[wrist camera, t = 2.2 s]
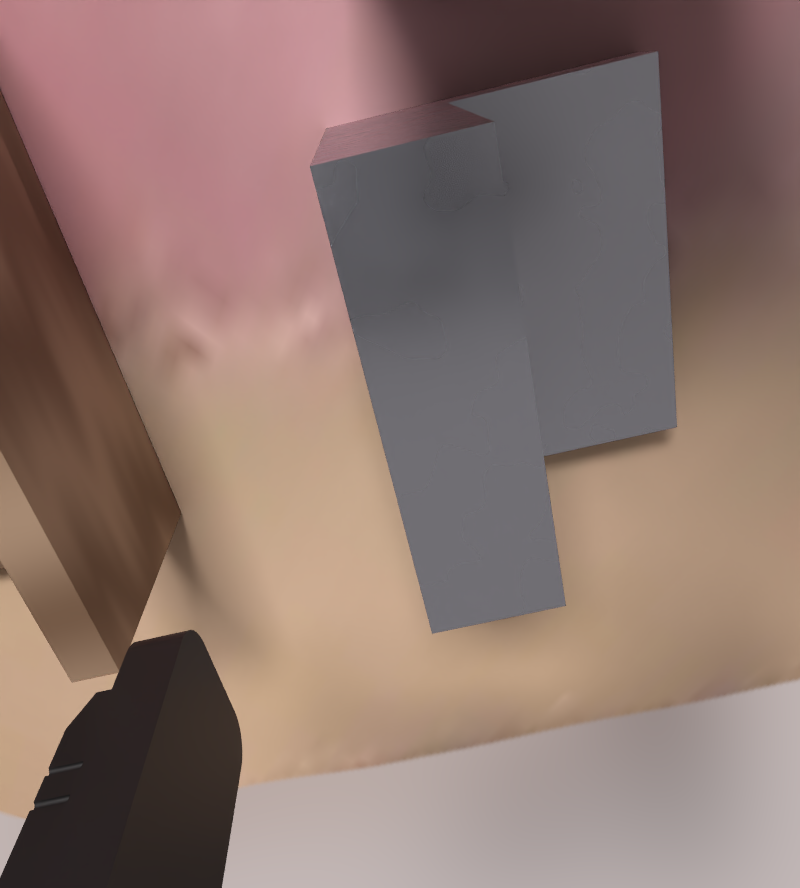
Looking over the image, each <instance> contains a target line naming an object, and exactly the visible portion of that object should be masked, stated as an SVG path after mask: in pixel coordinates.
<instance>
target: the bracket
mask: <svg viewBox="0 0 800 888" xmlns="http://www.w3.org/2000/svg"><path fill="white" fill-rule="evenodd" d="M310 169H311V173H312V176H313V180H314V184H315V188H316V192H317V195H318V199H319V203H320V207H321V211H322V215H323V218H324V222H325V226H326V230H327V234H328V237H329V241H330V245H331V249H332V253H333V257H334V260H335V264H336V268H337V272H338V276H339V280H340V283H341V287H342V291H343V295H344V299H345V302H346V306H347V310H348V314H349V318H350V322H351V325H352V329H353V333H354V337H355V341H356V344H357V348H358V352H359V356H360V360H361V364H362V367H363V371H364V375H365V379H366V383H367V386H368V390H369V394H370V398H371V402H372V406H373V409H374V413H375V417H376V421H377V425H378V428H379V432H380V436H381V440H382V444H383V448H384V451H385V455H386V459H387V463H388V467H389V470H390V474H391V478H392V482H393V486H394V490H395V493H396V497H397V501H398V505H399V509H400V513H401V516H402V520H403V524H404V528H405V532H406V535H407V539H408V543H409V547H410V551H411V555H412V558H413V562H414V566H415V570H416V574H417V577H418V581H419V585H420V589H421V593H422V597H423V600H424V604H425V608H426V612H427V616H428V619H429V623H430V627H431V631H432V634H433V633H438V632H442V631H447V630H452V629H457V628H462V627H466V626H471V625H476V624H481V623H485V622H490V621H495V620H500V619H505V618H509V617H514V616H519V615H524V614H529V613H533V612H538V611H543V610H548V609H553V608H557V607H562V606H566V604H565V597H564V590H563V584H562V577H561V570H560V563H559V556H558V550H557V543H556V536H555V529H554V523H553V516H552V509H551V502H550V495H549V489H548V482H547V475H546V468H545V462H544V456H547V455H552V454H556V453H561V452H566V451H570V450H575V449H579V448H584V447H588V446H593V445H598V444H602V443H607V442H611V441H616V440H620V439H625V438H630V437H634V436H639V435H643V434H648V433H652V432H657V431H661V430H666V429H671V428H675V427H677V419H676V399H675V379H674V359H673V339H672V319H671V299H670V279H669V259H668V239H667V219H666V199H665V179H664V159H663V139H662V119H661V99H660V79H659V59H658V51H653V52H636V53H632V54H628V55H624V56H620V57H616V58H611V59H607V60H603V61H599V62H595V63H591V64H587V65H583V66H579V67H575V68H571V69H567V70H563V71H558V72H554V73H550V74H546V75H542V76H538V77H534V78H530V79H526V80H522V81H518V82H514V83H510V84H505V85H501V86H497V87H493V88H489V89H485V90H481V91H477V92H473V93H469V94H465V95H461V96H457V97H452V98H448V99H444V100H440V101H436V102H432V103H428V104H424V105H420V106H416V107H412V108H408V109H404V110H399V111H395V112H391V113H387V114H383V115H379V116H375V117H371V118H367V119H363V120H359V121H355V122H351V123H346V124H342V125H338V126H334V127H330V128H326V130H325V133H324V135H323V137H322V139H321V142H320V144H319V146H318V149H317V151H316V153H315V156H314V158H313V160H312V163H311V165H310Z"/></svg>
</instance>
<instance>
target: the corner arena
mask: <svg viewBox="0 0 800 888" xmlns="http://www.w3.org/2000/svg"><path fill="white" fill-rule="evenodd" d="M180 515H181V512H180V509H179V507H178V505H177V502H176V500H175V498H174V495H173V493H172V491H171V488H170V486H169V484H168V481H167V479H166V477H165V474H164V472H163V470H162V467H161V465H160V463H159V460H158V458H157V456H156V453H155V451H154V449H153V446H152V444H151V442H150V439H149V437H148V435H147V432H146V430H145V427H144V425H143V423H142V420H141V418H140V416H139V413H138V411H137V409H136V406H135V404H134V402H133V399H132V397H131V395H130V392H129V390H128V388H127V385H126V383H125V381H124V378H123V376H122V374H121V371H120V369H119V367H118V364H117V362H116V360H115V357H114V355H113V353H112V350H111V348H110V346H109V343H108V341H107V339H106V336H105V334H104V332H103V329H102V327H101V325H100V322H99V320H98V318H97V315H96V313H95V311H94V308H93V306H92V304H91V301H90V299H89V297H88V294H87V292H86V290H85V287H84V285H83V283H82V280H81V278H80V276H79V273H78V271H77V269H76V266H75V264H74V261H73V259H72V257H71V254H70V252H69V250H68V247H67V245H66V243H65V240H64V238H63V236H62V233H61V231H60V229H59V226H58V224H57V222H56V219H55V217H54V215H53V212H52V210H51V208H50V205H49V203H48V201H47V198H46V196H45V194H44V191H43V189H42V187H41V184H40V182H39V180H38V177H37V175H36V173H35V170H34V168H33V166H32V163H31V161H30V159H29V156H28V154H27V152H26V149H25V147H24V145H23V142H22V140H21V138H20V135H19V133H18V131H17V128H16V126H15V124H14V121H13V119H12V117H11V114H10V112H9V110H8V107H7V105H6V103H5V100H4V98H3V95H2V93H1V91H0V569H2V568H5V569H6V571H7V573H8V574H9V576H10V578H11V580H12V581H13V583H14V585H15V586H16V588H17V590H18V591H19V593H20V595H21V597H22V598H23V600H24V602H25V603H26V605H27V607H28V609H29V610H30V612H31V614H32V615H33V617H34V619H35V621H36V622H37V624H38V626H39V627H40V629H41V631H42V632H43V634H44V636H45V638H46V639H47V641H48V643H49V644H50V646H51V648H52V650H53V651H54V653H55V655H56V656H57V658H58V660H59V662H60V663H61V665H62V667H63V668H64V670H65V672H66V673H67V675H68V677H69V679H70V680H71V682H76V681H81V680H86V679H91V678H95V677H100V676H105V675H110V674H114V673H119V670H120V667H121V665H122V662H123V660H124V657H125V655H126V652H127V650H128V648H129V647H130V645H131V642H132V640H133V637H134V634H135V632H136V629H137V627H138V624H139V621H140V619H141V616H142V614H143V611H144V608H145V606H146V603H147V601H148V598H149V595H150V593H151V590H152V588H153V585H154V582H155V580H156V577H157V575H158V572H159V569H160V567H161V564H162V562H163V559H164V556H165V554H166V551H167V549H168V546H169V543H170V541H171V538H172V536H173V533H174V530H175V528H176V525H177V523H178V520H179V517H180Z"/></svg>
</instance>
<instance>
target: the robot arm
mask: <svg viewBox="0 0 800 888" xmlns="http://www.w3.org/2000/svg"><path fill="white" fill-rule="evenodd" d="M241 765H242V740H241V733H240V727H239V723H238V720H237V716H236V714H235V711H234V709H233V707H232V705H231V702H230V700H229V698H228V696H227V693H226V691H225V689H224V687H223V685H222V682H221V680H220V678H219V676H218V673H217V671H216V669H215V667H214V665H213V662H212V660H211V658H210V656H209V653H208V651H207V649H206V647H205V645H204V642H203V640H202V639H201V637H200V636H199V634H198V633H197V632H195V631H194V630H189V631H184V632H179V633H175V634H170V635H166V636H161V637H156V638H152V639H147V640H143V641H138V642H135V643H133V644H132V645H131V646H130V647H129V648H128V650H127V652H126V655H125V657H124V660H123V662H122V665H121V667H120V670H119V673H118V675H117V678H116V680H115V683H114V685H113V688H112V689H111V690H106V691H102V692H97V693H96V694H95V695H94V696H93V697H92V699H91V700H90V701H89V702H88V703H87V705H86V706H85V707H84V708H83V709H82V711H81V712H80V713H79V714H78V715H77V717H76V718H75V719H74V720H73V721H72V723H71V724H70V725H69V726H68V727H67V728H66V730H65V732H64V735H63V737H62V739H61V741H60V744H59V746H58V748H57V750H56V753H55V755H54V757H53V760H52V762H51V764H50V766H49V776H45V778H44V780H43V782H42V784H41V787H40V789H39V791H38V793H37V796H36V798H35V800H34V804H35V808H34V810H31V811H30V812H29V814H28V816H27V818H26V821H25V823H24V825H23V827H22V830H21V832H20V834H19V836H18V839H17V841H16V843H15V846H14V848H13V850H12V852H11V855H10V857H9V859H8V861H7V864H6V866H5V868H4V871H3V873H2V875H1V877H0V888H222V882H223V876H224V870H225V864H226V858H227V852H228V846H229V839H230V833H231V827H232V821H233V815H234V808H235V802H236V796H237V790H238V784H239V778H240V772H241Z"/></svg>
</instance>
